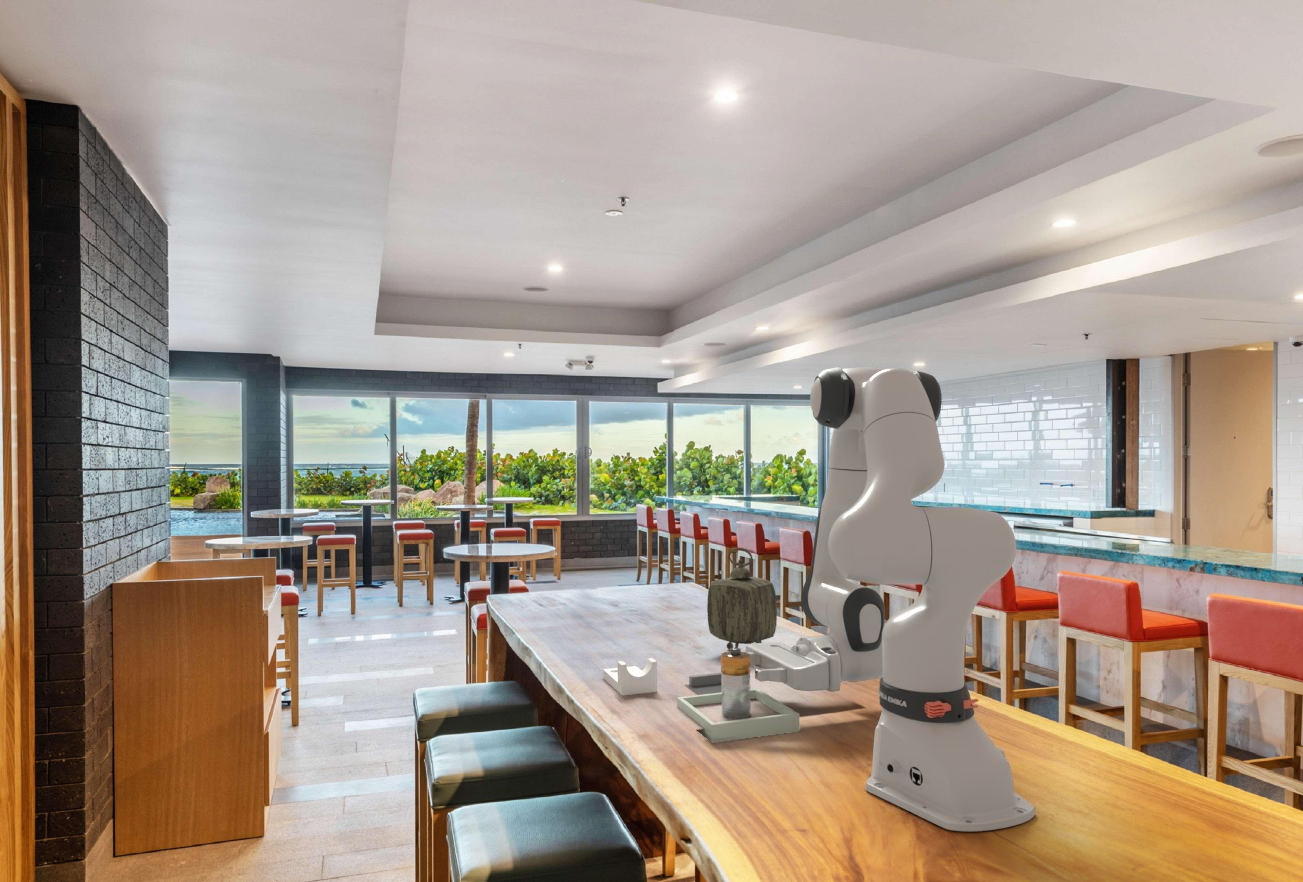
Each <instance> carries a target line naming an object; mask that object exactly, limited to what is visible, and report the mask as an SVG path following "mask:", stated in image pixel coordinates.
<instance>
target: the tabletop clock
mask: <svg viewBox="0 0 1303 882" xmlns="http://www.w3.org/2000/svg"><path fill="white" fill-rule="evenodd" d="M736 551H737V552H738V551H739V552H745V553H747V554H748V555H749V557H750V560H749V561H748V562H745V563H743V559H738V561H737V562H736V561H734V560H733V559H732V558H731V556H732V555H731V554H733V552H736ZM727 557H728V560H729V562H730V563H731V564H733V565H734V566H736V567H733V569H732V570H731V571H730V574H729V577H727V578H721V579H716V580H713V581H712V582H711V584H710V585H709V588H708V592H707V606H706V607H707V608H706V609H707V625H708V630H709V633H710V634H711V635H712V636H714V637H715V638H717V639H719V640H722V641H725V642H727V644H726V648H727V649H728V650H730V649H731V648H739V645H740V644H741V645H742V644H743V645H748V644H753V643H763V642H762V641H764V640H767V639H768V640H769V639H771V638H773V637H774V636H775V633H776V630H777V619H778V618H777V617H778V604H777V594H776V590H775V587H774V584H773V582H772V581H770V580H768V579H765V578H760V577H755V576H752V573H751V571H750V570H749V568H747V566H749V565H750V564H752V563H753V559H754V558H753V554H752V553H751V552H750V551H749V550H748V549H747V548H744V547H735V548H732V549H731V550H730V551H729V552H728V556H727ZM734 645H735V646H734Z"/></svg>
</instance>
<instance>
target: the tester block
mask: <svg viewBox="0 0 1303 882" xmlns="http://www.w3.org/2000/svg"><path fill="white" fill-rule="evenodd" d="M688 679H689V681H688V684H684V686H685V687H686V688H687V689H689V690H690V691H692V692H693V694H695V695H703V694H712V693H721V692H722V683H721V672H713V673H712V672H711V673H703V674H693V675H689V676H688Z"/></svg>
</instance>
